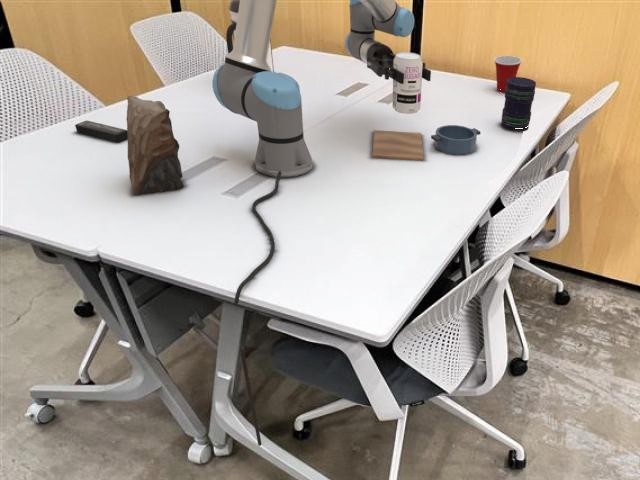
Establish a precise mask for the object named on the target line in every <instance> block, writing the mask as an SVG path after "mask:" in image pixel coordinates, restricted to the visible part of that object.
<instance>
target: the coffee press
mask: <svg viewBox="0 0 640 480" xmlns="http://www.w3.org/2000/svg"><path fill="white" fill-rule="evenodd" d="M239 4H240V0H231V1H230V2H229V5H228V10H229V12H230V24H229V26H228V27H227V29H226V35H225V39H226V40H225V41H226V49H227V54H229V53H230V52H232V50H233V45H234V42H233V40H234V38H235V32H236V25H237V18H238V11H239ZM272 49H273V48H272V40H271V37H270V43H269V49H268V55H267V64H268V65H269V67H270V69H271V71H274V72H275V67H274V59H273V50H272Z"/></svg>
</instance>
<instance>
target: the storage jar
mask: <svg viewBox="0 0 640 480" xmlns="http://www.w3.org/2000/svg"><path fill="white" fill-rule="evenodd" d="M536 86H537V82H536V81H535V80H533V79H530V78H528V77H522V76H521V77H520V76H516V77H511V78H508V79H507V85H506V90H505V93H504V98H505V99H504V105H503V108H502V110H501V111H502V112H501V122H500V127H501V128H502V129H504V130H507V131H510V132H516V133H522V132H527V131H528V130H529V127H530V126H529V125H530V122H531V116H532V105H533V101H534V100H535V94H536ZM527 126H528V127H527ZM525 127H527V128H525ZM515 128H523V129H515Z"/></svg>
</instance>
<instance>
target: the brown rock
mask: <svg viewBox="0 0 640 480" xmlns="http://www.w3.org/2000/svg"><path fill="white" fill-rule="evenodd" d="M126 99H127V100H126V101H127V107H126V120H125V121H126V130H127V135H128V139H127V160H128V169H129V176H128V177H129V180H130V184H131V188H132V191H133V196H139V195H146V194H147V195H148V194H154V193H164V192H168V191H178V190H180V189H183V188H184V187H185V185H184V183H183V181H182V178H183V177H184V176H183V172H182V171H183V170H182V165H181V162H180V159H179V150H180V144H179V141H178V139H176V138H175V135H174V131H173V126H172V125H173V124H172V119H171V118H170V113H171V111H170V109H168V108H166V106H165V104H164V103H163V102H162V101H161V100H154V101H153V100H150V99H149V100H148V99H141V98H139V97H138V96H132V95H128V96H127V98H126Z"/></svg>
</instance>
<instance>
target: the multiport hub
mask: <svg viewBox="0 0 640 480" xmlns="http://www.w3.org/2000/svg"><path fill="white" fill-rule="evenodd" d="M74 127H75V129H76V132H77V134H80V135H84V136H88V137H93V138H97V139H101V140H104V141H108V142H113V143H117V144H120V143H122V142H124V141H125V140H126V141H127V140H128V135H127V129H124V128H121V127H120V128H119V127H115V126H111V125H109V124H108V125H107V124H103V123H99V122H95V121H91V120H84V121H81V122H79V123H75V124H74Z"/></svg>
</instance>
